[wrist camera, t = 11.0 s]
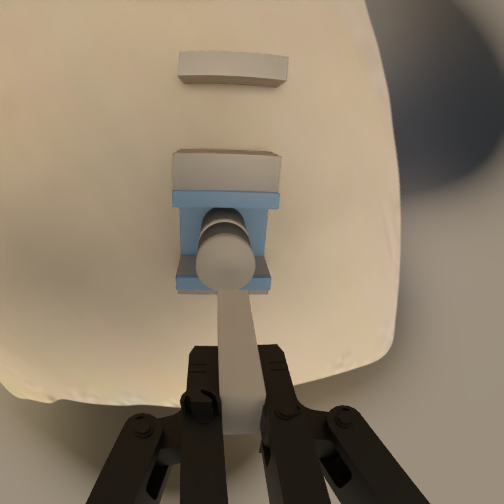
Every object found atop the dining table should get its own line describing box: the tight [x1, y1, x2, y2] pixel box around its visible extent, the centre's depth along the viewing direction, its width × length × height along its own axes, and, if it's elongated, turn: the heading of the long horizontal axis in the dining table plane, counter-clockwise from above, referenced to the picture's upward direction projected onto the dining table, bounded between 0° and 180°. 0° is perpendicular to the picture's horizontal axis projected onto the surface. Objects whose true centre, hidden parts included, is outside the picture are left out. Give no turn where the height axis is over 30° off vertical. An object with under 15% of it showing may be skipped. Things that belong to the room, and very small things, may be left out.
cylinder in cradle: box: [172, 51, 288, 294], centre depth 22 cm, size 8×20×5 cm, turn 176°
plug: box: [196, 207, 255, 291], centre depth 23 cm, size 4×4×8 cm
